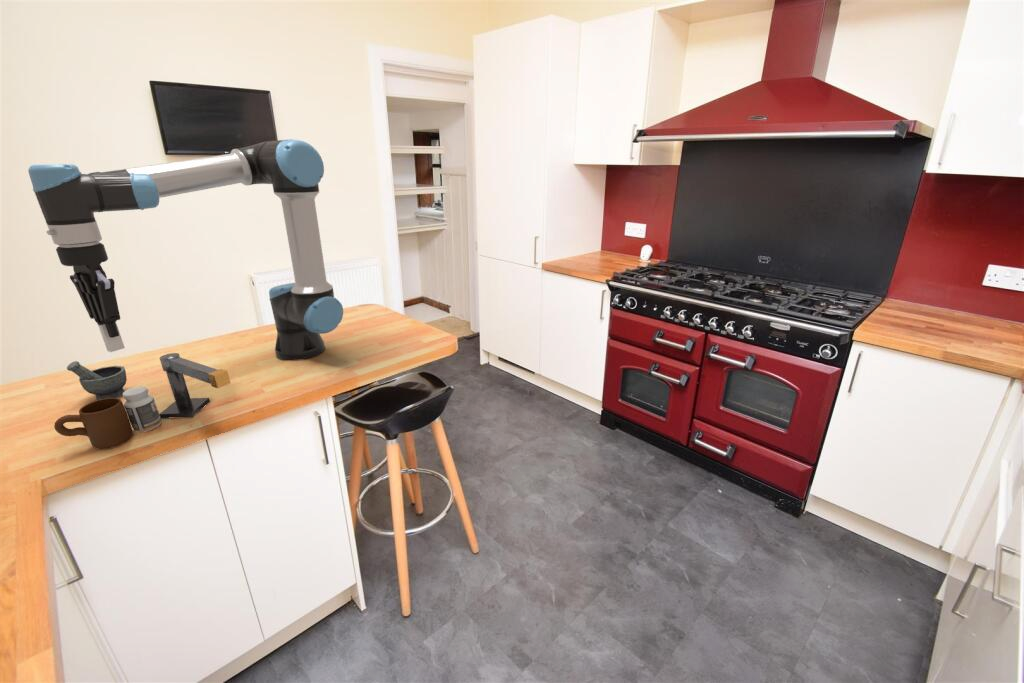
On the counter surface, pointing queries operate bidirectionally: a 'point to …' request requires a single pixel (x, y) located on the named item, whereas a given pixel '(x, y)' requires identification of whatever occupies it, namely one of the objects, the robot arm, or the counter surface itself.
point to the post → (182, 398)
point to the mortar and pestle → (101, 380)
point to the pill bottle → (141, 409)
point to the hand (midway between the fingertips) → (116, 349)
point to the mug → (100, 423)
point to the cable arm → (195, 370)
